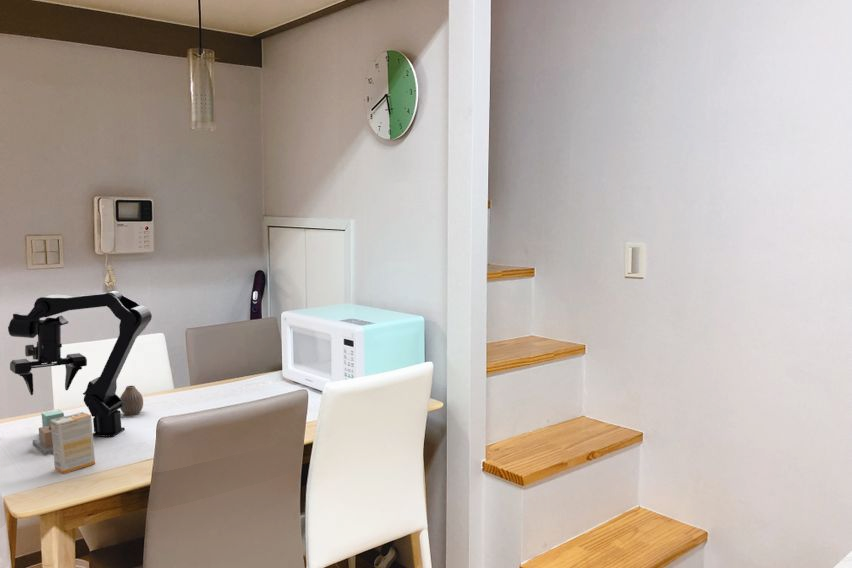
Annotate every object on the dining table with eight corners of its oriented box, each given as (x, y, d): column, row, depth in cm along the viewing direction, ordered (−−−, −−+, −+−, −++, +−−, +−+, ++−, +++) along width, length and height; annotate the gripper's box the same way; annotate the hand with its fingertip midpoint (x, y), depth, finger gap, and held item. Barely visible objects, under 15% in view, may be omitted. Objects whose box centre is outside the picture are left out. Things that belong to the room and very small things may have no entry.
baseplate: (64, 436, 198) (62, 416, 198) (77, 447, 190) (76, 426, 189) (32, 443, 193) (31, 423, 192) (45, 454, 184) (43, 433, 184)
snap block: (60, 429, 205) (58, 409, 204) (65, 432, 202) (63, 412, 201) (43, 432, 202) (41, 412, 201) (47, 436, 199) (46, 416, 198)
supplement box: (86, 460, 181) (83, 411, 179) (95, 464, 177) (92, 414, 176) (53, 469, 174) (49, 419, 173) (62, 474, 171) (58, 422, 170)
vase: (115, 416, 217) (113, 388, 216) (129, 409, 223) (127, 383, 222) (134, 417, 215) (132, 390, 214) (148, 411, 222) (146, 384, 221)
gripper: (74, 331, 211) (74, 381, 213) (4, 336, 197) (4, 390, 199) (87, 338, 203) (87, 390, 205) (15, 344, 190) (15, 400, 192)
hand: (49, 392), depth 200 cm, fingers open, 9 cm apart
